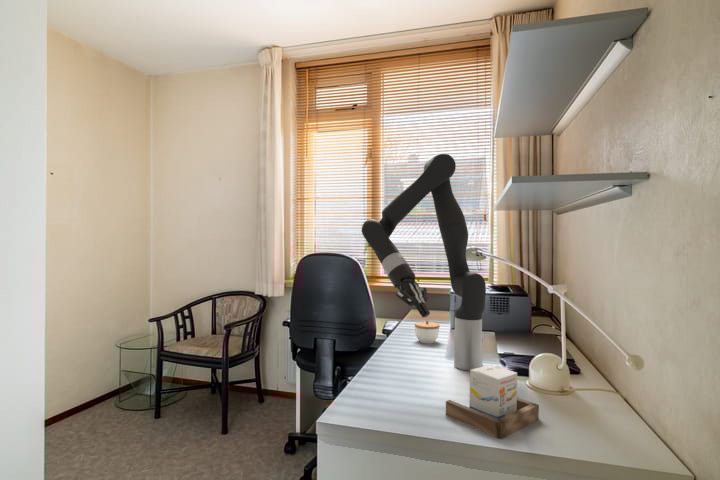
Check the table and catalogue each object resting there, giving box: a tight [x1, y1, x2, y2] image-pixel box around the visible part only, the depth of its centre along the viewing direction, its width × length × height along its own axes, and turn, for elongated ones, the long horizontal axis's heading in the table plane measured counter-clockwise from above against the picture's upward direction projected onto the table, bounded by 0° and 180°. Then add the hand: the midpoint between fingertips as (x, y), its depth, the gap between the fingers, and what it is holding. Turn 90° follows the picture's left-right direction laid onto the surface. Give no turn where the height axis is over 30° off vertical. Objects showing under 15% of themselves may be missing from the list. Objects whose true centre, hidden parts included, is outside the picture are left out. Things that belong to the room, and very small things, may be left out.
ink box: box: [468, 364, 518, 419], centre depth 101 cm, size 9×8×12 cm
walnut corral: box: [445, 397, 540, 440], centre depth 101 cm, size 17×16×4 cm
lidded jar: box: [414, 319, 440, 344], centre depth 176 cm, size 11×11×9 cm
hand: (426, 315), depth 119 cm, fingers closed
